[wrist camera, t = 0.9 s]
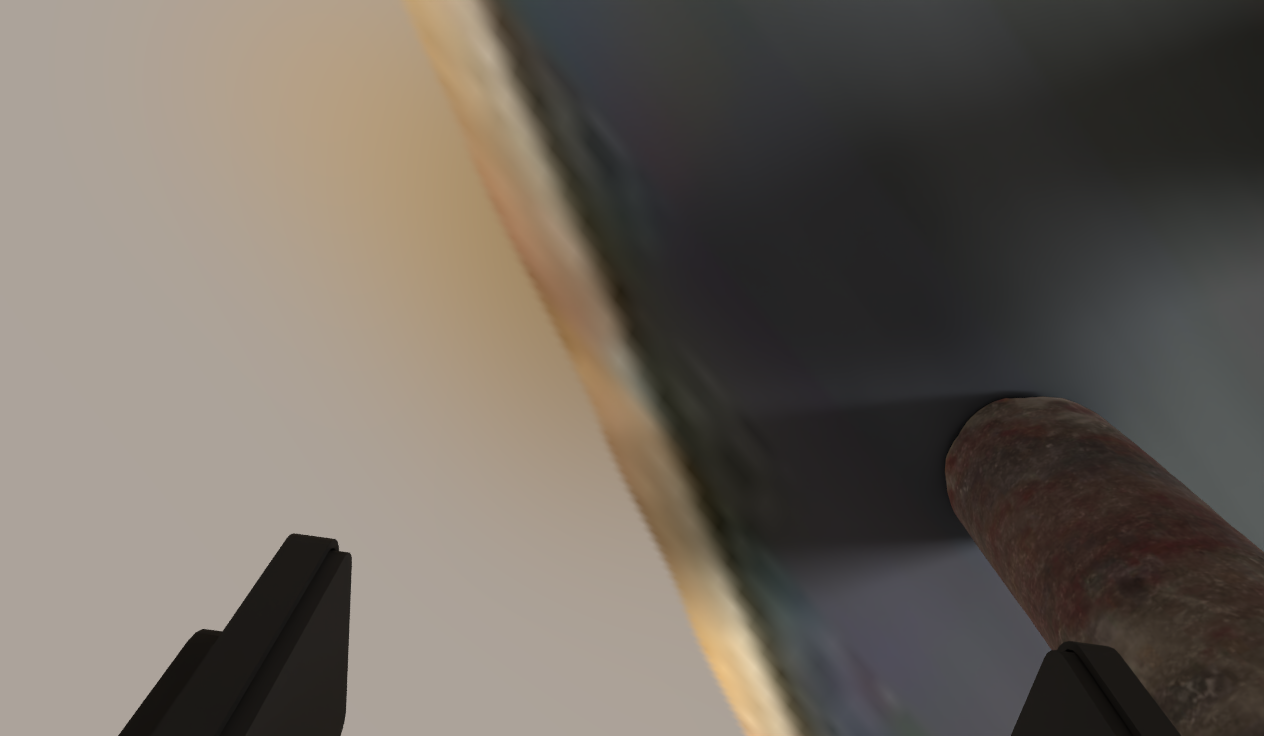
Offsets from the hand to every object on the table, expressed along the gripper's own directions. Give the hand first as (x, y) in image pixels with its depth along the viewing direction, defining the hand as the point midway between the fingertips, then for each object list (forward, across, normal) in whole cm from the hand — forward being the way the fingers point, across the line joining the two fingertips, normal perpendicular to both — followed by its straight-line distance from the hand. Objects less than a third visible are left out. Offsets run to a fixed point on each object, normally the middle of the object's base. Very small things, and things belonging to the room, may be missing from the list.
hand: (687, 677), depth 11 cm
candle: (+25, -18, +7) cm, 31 cm away
